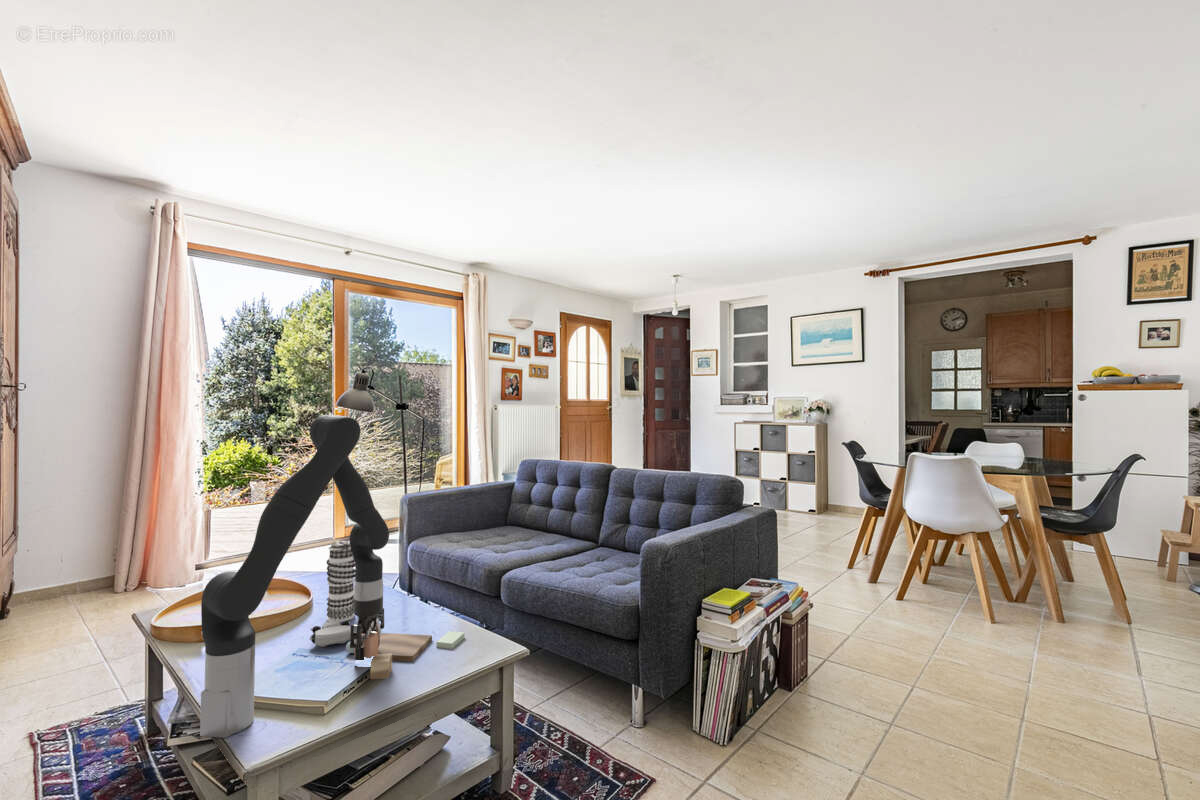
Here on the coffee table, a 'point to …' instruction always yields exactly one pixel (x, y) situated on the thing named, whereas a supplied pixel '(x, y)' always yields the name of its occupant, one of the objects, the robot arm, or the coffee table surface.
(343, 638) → the robot toy
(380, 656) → the beech cube
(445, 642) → the sage flat block
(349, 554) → the grey banded tower model
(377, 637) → the terracotta block
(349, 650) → the grey ball
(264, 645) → the coffee table surface
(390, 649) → the walnut board
